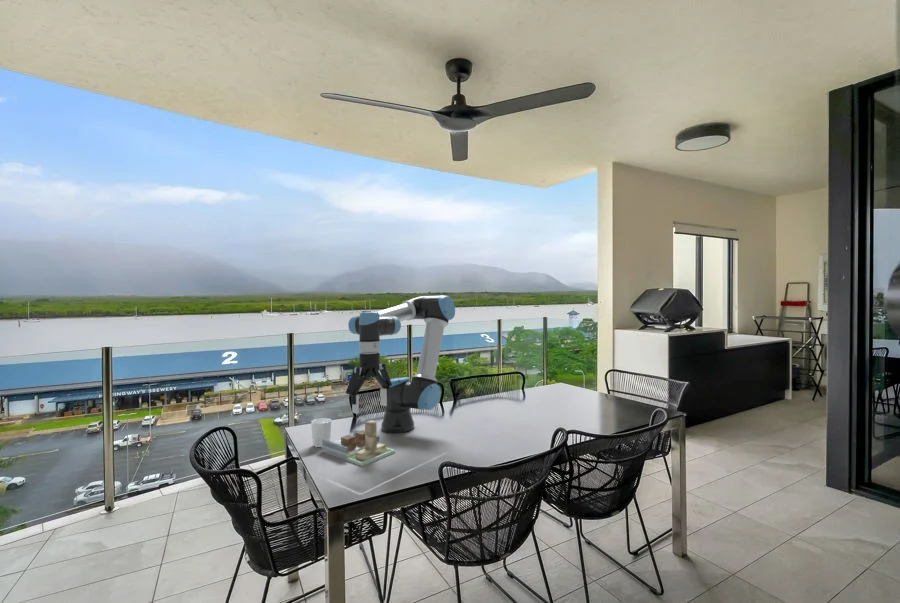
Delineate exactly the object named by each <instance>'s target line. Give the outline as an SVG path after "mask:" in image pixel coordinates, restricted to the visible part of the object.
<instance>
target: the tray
mask: <svg viewBox="0 0 900 603" xmlns="http://www.w3.org/2000/svg"><path fill="white" fill-rule="evenodd" d="M395 453H396V450H395V449H393V448H390V447H387V446H386V452H385V453H383V454H381V455H378V456H376V457H373V458H371V459H368V460H366V461H363V462H361V461H358V460H356V454H354V455H352V456H349V457H347V458H346V460H345V461H346V462H349V463H352V464H354V465H358V466H360V467H364V466H367V465H369V464H371V463H374V462H375V461H378V460H380V459H383V458H385V457H388V456H391V455H393V454H395Z"/></svg>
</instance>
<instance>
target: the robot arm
mask: <svg viewBox="0 0 900 603" xmlns="http://www.w3.org/2000/svg"><path fill="white" fill-rule="evenodd" d="M455 315H456V307H455V303H454V300H453V299H452V298H451V297H450V296H449V295H442V294H441V295H421V296H418V297H413V298H412V299H408V300H404V301H403V302H401V303H400V304H398V305H396V306H391V307H389V308H385V309H382V310H378V311H362V312H360V313H359V315H357V316H352V317H350V319H349V320H348V324H347V325H348V330H349V332H350V333H352V334H354V335H359V340H358V341H359V346H358V347H359V348H358V349H359V350H358V351H359V364H360V366H359V367H356V366H353V368H352V375H351V378H350V379H349V383H348V385H347V388H346V391H345V394H346V395H349V396H350V404H351V406H352V407H351V409H352V412H351V413H353V414H356V415H358V414H360V413H359V412H360V411H359V410H360V408H359V407H360V402H359V398H360V397H359V394H358V393H359V392H360V390H361V388H362V386H363V384H365V381H366V380H367V379H371V378H375V380H376V381H377V382H378V384H379V385H380V386H381V388H380V391H379V392H380V406H384V415H383V418H382V419H383V420H382V422H381V425H380V426H381V427H380V428H381V431H382V432H385V433H389V434H390V433H391V434H402V433H406V432H410V431H412V430H413V429H414V428H415V421H414V419H413V416H412V413H411V409H415V410H421V411H431V410H433V409H434V408H435V407H436V406H437V405H438V404H439V401H440V399H441V387H440V386H439V384H438V380H437V379H436V374H437V368H438V362H439V356H440V351H441V346H442V341H443V335H444V330H445V328H446V327H447V326H448V325H449V321H451V320H453V319H454V318H455ZM412 320H423V321H424V323H425V331H424V335H423V338H422V339H423V340H422V344H421V349H420V355H419V360H418V364H417V370H416V373H415V374H414V375H413V376H412V377H411V379H410V377H408V376H406V377H395V378H391V379H390V376H389V374H388V371H387V369H386V368H387V367H386V364H385V363H384V362H383V363H381V355H380V351H381V350H380V344H381V343H380V339H381V336H393V335H397V334H398V333H399V332H400V330H401V327H402V322H403V321H412ZM401 432H402V433H401Z"/></svg>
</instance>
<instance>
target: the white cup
mask: <svg viewBox="0 0 900 603" xmlns="http://www.w3.org/2000/svg"><path fill="white" fill-rule="evenodd" d="M310 422H311V435H312V436H311V438H312V446H313V447H314V446H315V447H314V448H317V447H321V448H322V440H324V439H325V440H328V441H331V437H332V436H331V435H332V419H331V418H329V417H321V418H316V419H315V418H314V419H312V420H311V421H310Z"/></svg>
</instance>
